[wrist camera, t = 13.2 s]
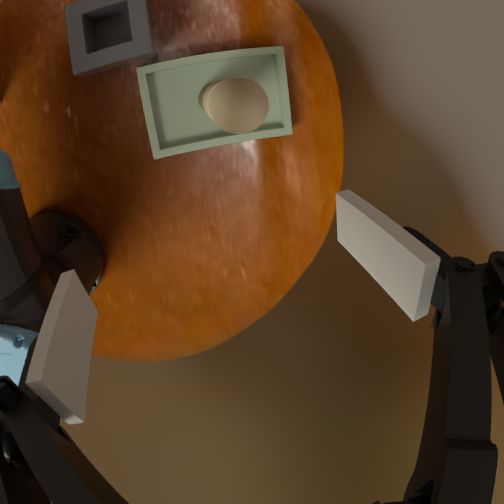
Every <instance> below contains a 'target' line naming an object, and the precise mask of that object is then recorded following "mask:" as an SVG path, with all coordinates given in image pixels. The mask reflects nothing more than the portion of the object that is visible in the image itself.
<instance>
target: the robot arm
mask: <svg viewBox="0 0 504 504" xmlns="http://www.w3.org/2000/svg"><path fill="white" fill-rule="evenodd" d="M20 188H21V185H20V183H18V181H17V179H16V176H15V172H14V169H13V166H12V162H11V159H10V157H9V155H8V154H7V153H6V152H5V151H3V150H0V504H51V502H52V503H53V504H129V503H128V502H127V501H126V500H125V499H124V498H123V497H122V496H121V495H120V494H119V493H118V492H117V491H116V490H115V489H114V488H113V487H112V486H111V485H110V484H109V483H108V482H107V480H106V479H105V478H104V477H103V476H102V475H101V474H100V473H99V472H98V471H97V469H96V468H95V467H94V466H93V465H92V464H91V462H90V461H89V460H88V459H87V458H86V456H85V455H84V454H83V453H82V452H81V450H80V449H79V448H78V447H77V445H76V444H75V443H74V442H73V440H72V439H71V438H70V436H69V435H68V433H67V432H66V431H65V429H64V428H63V427H61V426H60V425H59V423H60V417H61V418H62V419H63V420H64V421H66V422H67V423H68V424H76V423H84V417H85V403H86V392H87V382H88V373H89V365H90V357H91V350H92V343H93V337H94V331H95V325H96V319H97V314H98V311H97V309H96V308H95V306H94V304H93V303H92V301H91V299H90V297H89V295H90V294H91V293H92V292H93V291H94V290H95V288H96V287H97V285H98V283H99V281H100V278H101V275H102V271H103V267H104V254H103V250H102V247H101V244H100V242H99V240H98V238H97V236H96V235H95V233H94V232H93V231H92V229H91V228H90V227H89V226H88V225H87V224H86V223H84V222H83V221H82V220H80V219H79V218H77V217H75V216H73V215H71V214H68V213H65V212H60V211H48V212H44V213H41V214H38V215H37V216H35V217H33V218H32V219H31V220H29V217H28V214H27V211H26V207H25V204H24V201H23V197H22V194H21V190H20ZM336 209H337V231H338V241H339V242H340V243H341V244H342V245H343V246H344V247H345V248H346V249H347V251H349V253H351V255H352V256H353V257H354V258H355V259H356V260H357V261H358V262H359V263H360V264H361V265H362V266H363V267H364V268H365V269H366V270H367V271H368V272H369V273H370V274H371V276H372V277H373V278H374V279H375V280H376V281H377V282H378V283H379V284H380V285H381V286H382V287H383V289H384V290H385V291H386V292H387V293H388V294H389V295H390V296H391V297H392V298H393V299H394V301H395V302H396V303H397V304H398V305H399V306H400V307H401V308H402V309H403V311H404V312H405V313H406V314H407V315H408V316H409V317H410V318H411V320H412V321H416V320H417V319H420V318H421V317H423V316H425V315H427V314H428V311H429V306H430V303H431V304H432V305H433V306H434V307H435V308H436V311H435V314H434V318H433V321H432V324H431V328H433V326H434V338H433V339H434V340H433V355H432V367H431V377H430V387H429V395H428V402H427V409H426V416H425V422H424V428H423V433H422V438H421V443H420V449H419V453H418V458H417V462H416V466H415V469H414V472H413V474H412V476H411V478H410V480H409V483H408V485H407V488H406V491H405V494H404V498H403V501H400V502H388V503H383V504H491V501H492V496H493V489H494V483H495V476H496V469H497V459H498V450H497V447H496V445H495V444H493V443H492V442H491V440H490V431H491V403H492V401H491V400H492V398H491V397H492V395H491V391H492V390H491V362H490V356H491V359H492V363H493V366H494V369H495V373H496V376H497V380H498V384H499V387H500V391H501V396H502V400H503V403H504V306H503V304H502V303H504V252H501V251H495V252H492V253H491V254H490V256H489V260H488V263H484V264H477V265H476V264H475V263H474V262H473V261H471V260H469V259H468V258H464V257H453V258H452V257H451V256H449V255H448V254H447V253H445V252H444V251H443V250H442V249H441V248H439V247H438V246H437V245H435V244H434V243H433V242H431V241H430V240H429V239H428V238H425V237H424V236H423V235H422V234H421V233H420V232H418V231H417V230H415V229H412V228H410V227H407V226H405V227H401V226H399V225H398V224H397V223H395V222H394V221H393V220H391V219H390V218H388V217H387V216H386V215H384V214H383V213H382V212H380V211H379V210H377V209H376V208H375V207H373V206H372V205H370V204H369V203H368V202H366V201H364V200H363V199H362V198H360V197H359V196H358V195H356V194H355V193H353V192H352V191H350V190H345V191H341V192H337V193H336ZM5 457H6V458H7V460H6V458H5ZM50 500H51V502H50ZM373 504H380V502H379V501H377V502H375V503H373Z"/></svg>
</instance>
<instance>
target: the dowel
mask: <svg viewBox="0 0 504 504" xmlns="http://www.w3.org/2000/svg"><path fill="white" fill-rule="evenodd" d="M198 102H199V105H200V107H201V108H202V110H203V111H204V112H205V113H206V114H207V115H208V116H209V117H210V118H211V119H212V120H213V121H214V122H215V123H216V124H217V125H218V126H219V127H220V128H222V129H223V130H225V131H227V132H230V133H234V134H244V133H248V132H251V131H253V130H255V129H256V128H258V127H259V126H260V125H261V124H262V123H263V122H264V120H265V118H266V116H267V114H268V110H269V101H268V97H267V94H266V92H265V91H264V89H263V88H262V87H261V86H260V85H259V84H258V83H256V82H255V81H253V80H250V79H247V78H233V79H227V80H221V81H215V82H211V83H208V84H206V85H205V86H204V87H203V88H202V89H201V90H200V92H199V95H198Z"/></svg>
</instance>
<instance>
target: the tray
mask: <svg viewBox="0 0 504 504" xmlns="http://www.w3.org/2000/svg"><path fill="white" fill-rule="evenodd" d="M136 71H137V77H138V83H139V88H140V94H141V99H142V105H143V110H144V115H145V120H146V125H147V130H148V135H149V139H150V144H151V149H152V153H153V158H154V160H155V159H159V158H163V157H167V156H172V155H176V154H181V153H185V152H190V151H195V150H199V149H204V148H210V147H215V146H220V145H226V144H231V143H237V142H243V141H249V140H255V139H262V138H269V137H276V136H283V135H291V134H292V123H291V112H290V102H289V92H288V82H287V73H286V64H285V56H284V47H283V46H276V47H260V48H249V49H239V50H230V51H222V52H214V53H208V54H201V55H195V56H189V57H184V58H179V59H174V60H169V61H164V62H160V63H155V64H151V65H147V66H143V67H139V68H136ZM233 78H247V79H250V80H253V81H255V82H256V83H258V84H259V85H260V86H261V87H262V88H263V89H264V91H265V92H266V94H267V97H268V101H269V110H268V114H267V116H266V118H265V120H264V122H263V123H262V124H261V125H260V126H259V127H258V128H256V129H255V130H253V131H251V132H248V133H244V134H234V133H230V132H227V131H225V130H223V129H222V128H220V127H219V126H218V125H217V124H216V123H215V122H214V121H213V120H212V119H211V118H210V117H209V116H208V115H207V114H206V113H205V112H204V111H203V110H202V108H201V107H200V105H199V102H198V95H199V92H200V90H201V89H202V88H203V87H204V86H205V85H206V84H208V83H211V82H215V81H221V80H227V79H233Z"/></svg>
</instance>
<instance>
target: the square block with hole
mask: <svg viewBox="0 0 504 504" xmlns="http://www.w3.org/2000/svg"><path fill="white" fill-rule="evenodd" d="M65 17H66V27H67V35H68V43H69V51H70V58H71V64H72V70H73V76H92V75H96V74H99V73H102V72H105V71H108V70H111V69H115V68H118V67H122V66H125V65H129V64H133V63H136V62H140V61H144V60H148V59H153V58H157V55H156V49H155V42H154V35H153V28H152V20H151V13H150V5H149V0H80V1H77V2H75V3H72V4H70V5H67V6H65Z"/></svg>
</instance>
